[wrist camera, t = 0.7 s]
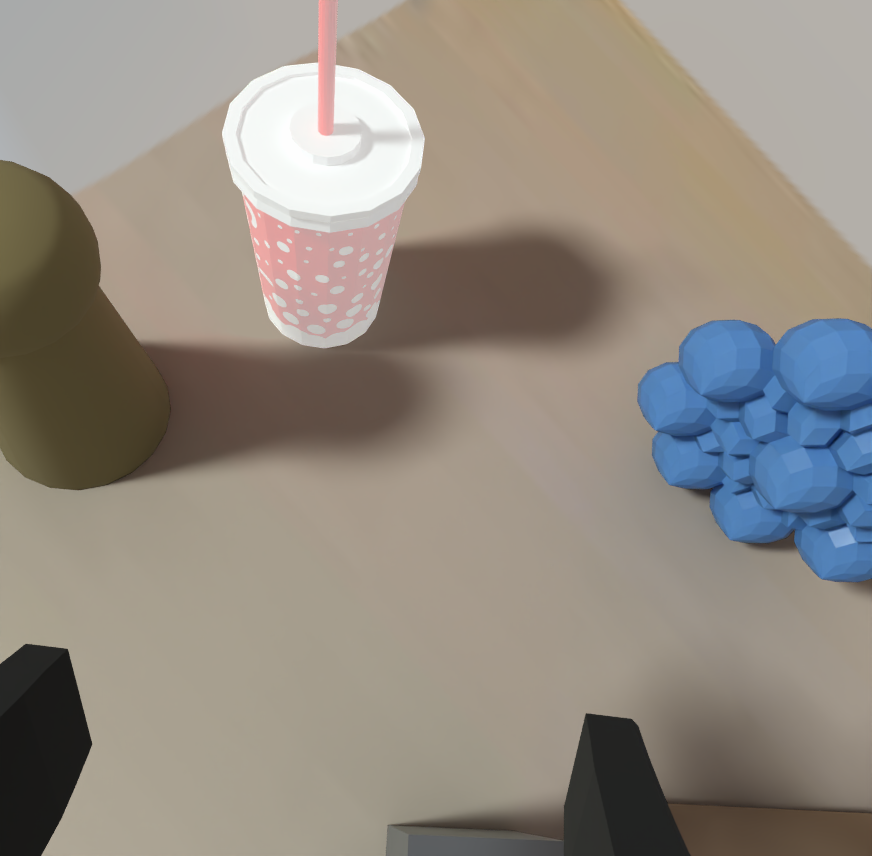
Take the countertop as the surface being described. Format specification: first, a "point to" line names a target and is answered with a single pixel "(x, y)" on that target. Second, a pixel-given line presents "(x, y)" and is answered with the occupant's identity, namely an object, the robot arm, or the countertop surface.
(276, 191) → the beverage cup
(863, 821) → the charging dock
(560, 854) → the plug
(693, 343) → the grapes
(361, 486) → the countertop surface
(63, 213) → the cork
